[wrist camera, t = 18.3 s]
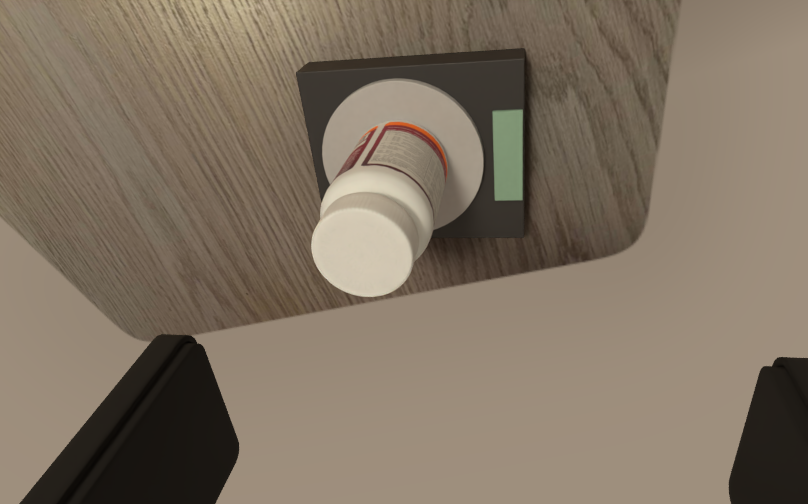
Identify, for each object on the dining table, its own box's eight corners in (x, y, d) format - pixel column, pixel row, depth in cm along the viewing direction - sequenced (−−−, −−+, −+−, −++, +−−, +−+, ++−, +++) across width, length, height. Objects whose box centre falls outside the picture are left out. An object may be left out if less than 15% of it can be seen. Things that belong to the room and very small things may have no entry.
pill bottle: (372, 212, 40) (324, 313, 31) (342, 128, 37) (280, 212, 28) (459, 196, 38) (437, 299, 29) (435, 106, 35) (402, 188, 26)
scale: (524, 47, 36) (524, 61, 33) (524, 220, 42) (524, 242, 39) (307, 62, 38) (292, 75, 36) (337, 221, 45) (325, 242, 42)
